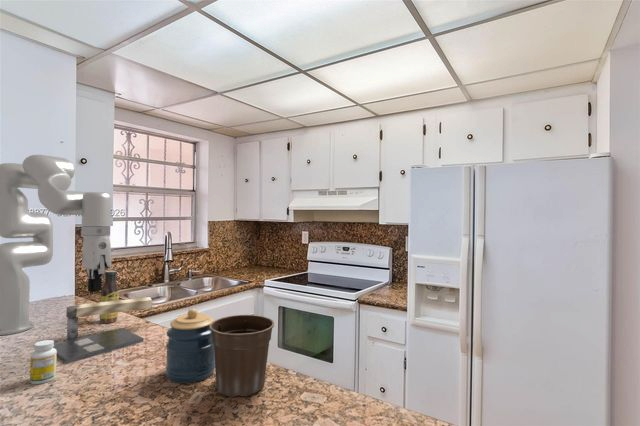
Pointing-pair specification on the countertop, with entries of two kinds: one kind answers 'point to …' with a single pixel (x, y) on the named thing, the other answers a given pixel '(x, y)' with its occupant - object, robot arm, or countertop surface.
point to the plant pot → (241, 353)
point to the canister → (190, 348)
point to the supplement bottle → (43, 362)
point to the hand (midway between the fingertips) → (94, 290)
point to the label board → (92, 342)
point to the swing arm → (108, 307)
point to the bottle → (109, 295)
